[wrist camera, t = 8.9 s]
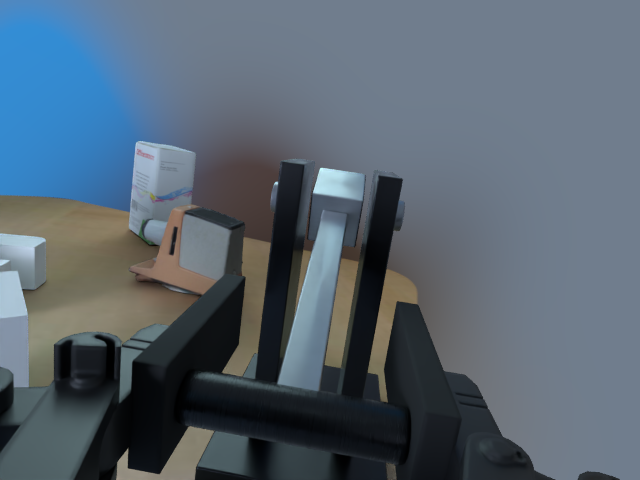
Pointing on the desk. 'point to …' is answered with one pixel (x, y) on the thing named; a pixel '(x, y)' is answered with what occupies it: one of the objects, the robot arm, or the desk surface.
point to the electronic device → (192, 249)
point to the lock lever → (305, 359)
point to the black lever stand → (278, 314)
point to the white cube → (13, 328)
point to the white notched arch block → (24, 258)
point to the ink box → (159, 183)
